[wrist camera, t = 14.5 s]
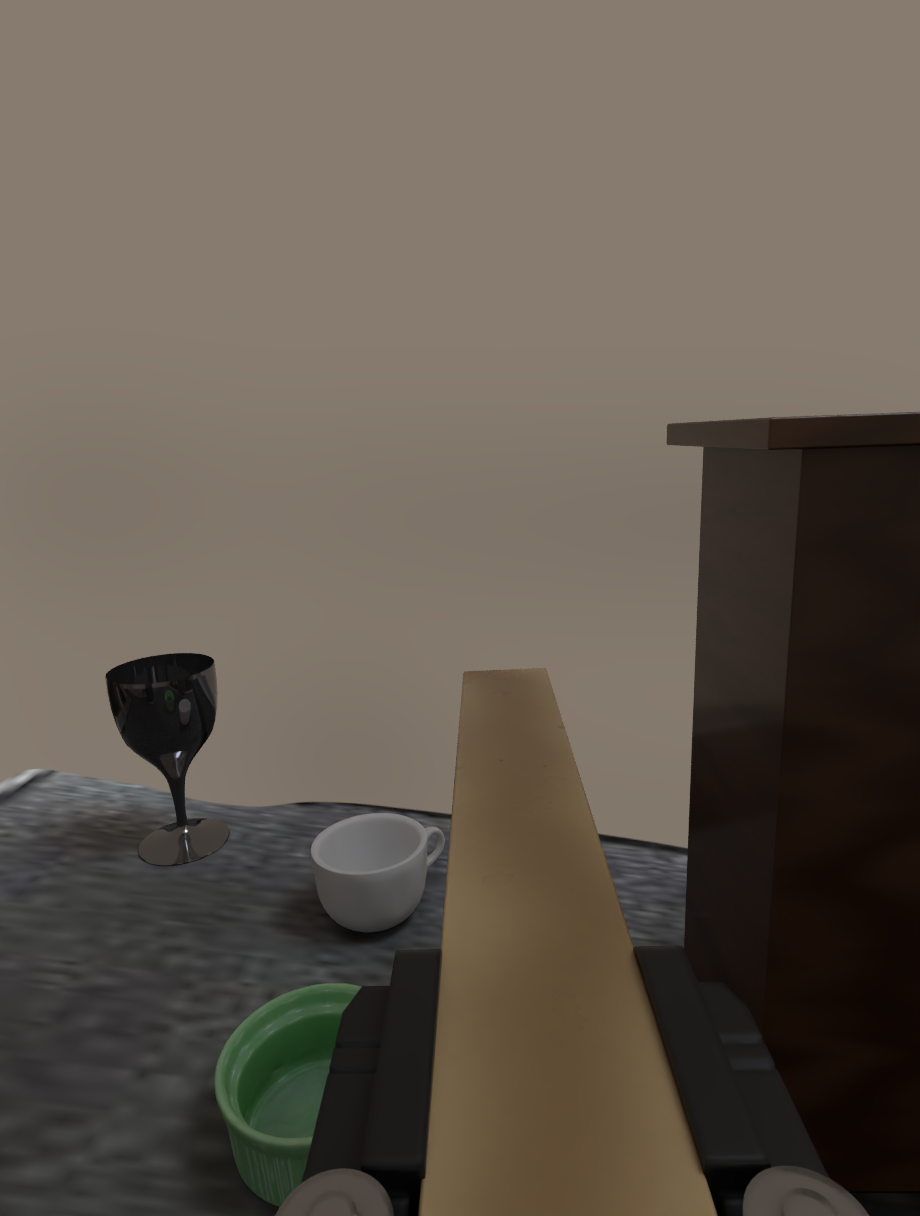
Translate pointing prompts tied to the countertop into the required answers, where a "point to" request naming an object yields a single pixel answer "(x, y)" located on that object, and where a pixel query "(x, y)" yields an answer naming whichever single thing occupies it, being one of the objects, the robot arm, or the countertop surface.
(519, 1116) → the beech bar
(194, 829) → the wine glass
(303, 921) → the countertop surface
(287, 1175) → the ramekin
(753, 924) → the walnut stand
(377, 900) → the teacup
